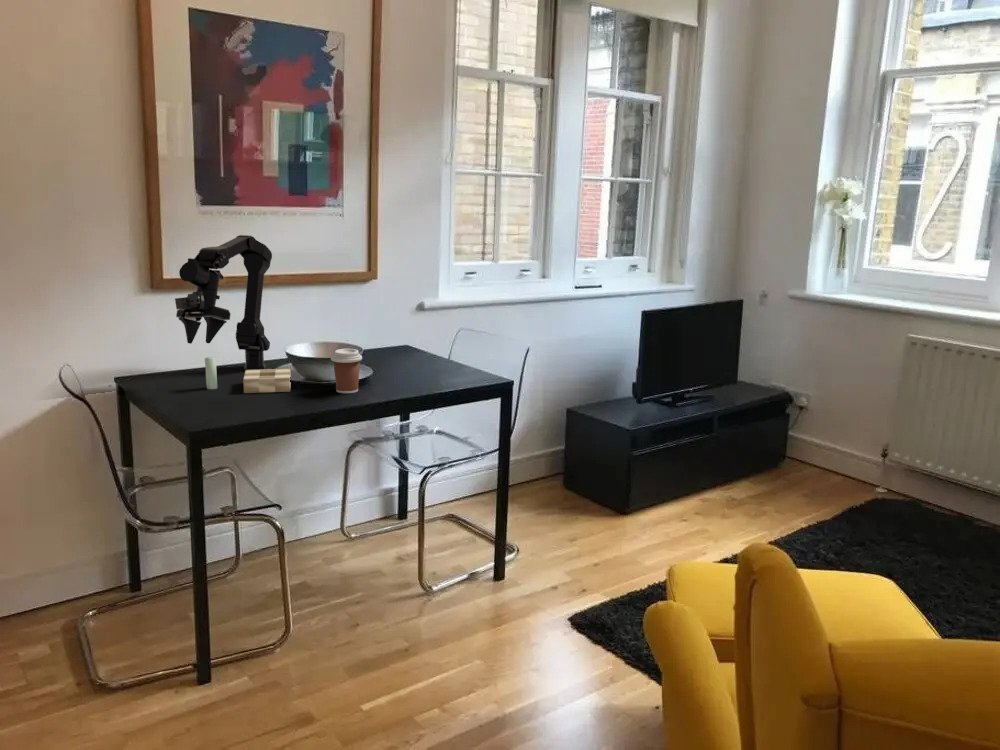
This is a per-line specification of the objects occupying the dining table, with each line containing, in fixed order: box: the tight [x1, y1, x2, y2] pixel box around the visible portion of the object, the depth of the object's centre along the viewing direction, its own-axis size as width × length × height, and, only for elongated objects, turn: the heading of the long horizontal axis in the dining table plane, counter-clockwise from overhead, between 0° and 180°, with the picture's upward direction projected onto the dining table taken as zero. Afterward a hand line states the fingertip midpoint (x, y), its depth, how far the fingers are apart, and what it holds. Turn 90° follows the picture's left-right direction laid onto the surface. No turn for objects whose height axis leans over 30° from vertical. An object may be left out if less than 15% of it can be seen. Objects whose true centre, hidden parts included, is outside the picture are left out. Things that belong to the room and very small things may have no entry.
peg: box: [204, 356, 218, 390], centre depth 247 cm, size 3×3×9 cm
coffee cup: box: [330, 348, 363, 394], centre depth 248 cm, size 9×9×12 cm
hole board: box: [242, 368, 292, 394], centre depth 250 cm, size 12×13×4 cm
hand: (198, 343), depth 242 cm, fingers open, 9 cm apart
